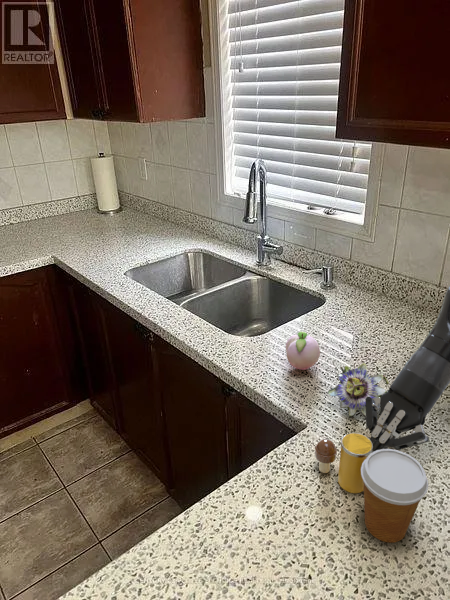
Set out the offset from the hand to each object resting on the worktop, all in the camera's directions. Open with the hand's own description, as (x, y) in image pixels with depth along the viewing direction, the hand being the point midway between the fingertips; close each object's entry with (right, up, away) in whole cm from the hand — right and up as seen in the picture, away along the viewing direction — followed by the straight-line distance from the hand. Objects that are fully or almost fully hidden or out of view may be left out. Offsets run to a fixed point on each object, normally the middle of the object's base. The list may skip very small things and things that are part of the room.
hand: (367, 458), depth 79 cm
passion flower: (+4, +5, +19) cm, 20 cm away
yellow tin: (-3, -4, 0) cm, 5 cm away
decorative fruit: (-6, +11, +32) cm, 35 cm away
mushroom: (-7, -3, +3) cm, 8 cm away
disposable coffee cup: (0, -8, -7) cm, 11 cm away
